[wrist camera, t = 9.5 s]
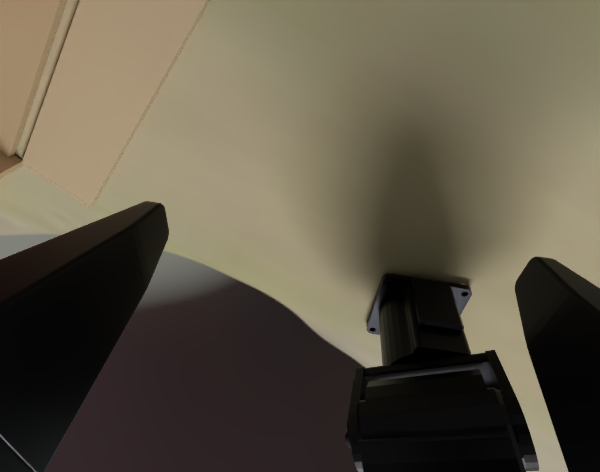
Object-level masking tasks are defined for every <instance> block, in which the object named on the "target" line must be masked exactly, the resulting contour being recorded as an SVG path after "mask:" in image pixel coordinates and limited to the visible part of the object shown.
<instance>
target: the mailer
mask: <svg viewBox="0 0 600 472" xmlns="http://www.w3.org/2000/svg"><path fill="white" fill-rule="evenodd" d="M66 1H67V0H0V178H2V177H4V176H5V175H7V174H9V173H11V172H13V171H14V170H16V169H18V168H20V167H21V166H22V164H23V165H24V166H26V167H27V168H29V169H31V170H32V171H34V172H35V173H37V174H38V175H40V176H41V177H43V178H45V179H46V180H48V181H49V182H51V183H52V184H54V185H55V186H57V187H59V188H60V189H62V190H63V191H65V192H66V193H68V194H69V195H71V196H73V197H74V198H76V199H77V200H79V201H80V202H82V203H83V204H85V205H86V206H88V207H90V208H91V207H92V206H93V205H94V203H95V201H96V199H97V198H98V196H99V194H100V192H101V190H102V189H103V187H104V185H105V183H106V182H107V180H108V178H109V176H110V175H111V173H112V171H113V169H114V168H115V166H116V164H117V162H118V160H119V159H120V157H121V155H122V153H123V152H124V150H125V148H126V146H127V145H128V143H129V141H130V139H131V138H132V136H133V134H134V132H135V130H136V129H137V127H138V125H139V123H140V122H141V120H142V118H143V116H144V115H145V113H146V111H147V109H148V108H149V106H150V104H151V102H152V100H153V99H154V97H155V95H156V93H157V92H158V90H159V88H160V86H161V85H162V83H163V81H164V79H165V78H166V76H167V74H168V72H169V71H170V69H171V67H172V65H173V63H174V62H175V60H176V58H177V56H178V55H179V53H180V51H181V49H182V48H183V46H184V44H185V42H186V41H187V39H188V37H189V35H190V33H191V32H192V30H193V28H194V26H195V25H196V23H197V21H198V19H199V18H200V16H201V14H202V12H203V11H204V9H205V7H206V5H207V3H208V2H209V0H80V1H79V4H78V7H77V10H76V13H75V15H74V18H73V21H72V24H71V26H70V29H69V32H68V35H67V38H66V40H65V43H64V46H63V49H62V52H61V54H60V57H59V60H58V63H57V66H56V68H55V71H54V74H53V77H52V80H51V82H50V85H49V88H48V91H47V94H46V96H45V99H44V102H43V105H42V107H41V110H40V113H39V116H38V119H37V121H36V124H35V127H34V130H33V133H32V135H31V138H30V141H29V144H28V147H27V149H26V152H25V155H24V158H23V160H21V159H20V158H18V157H17V156H15V152H16V149H17V146H18V143H19V140H20V137H21V134H22V131H23V128H24V125H25V122H26V119H27V116H28V113H29V110H30V108H31V105H32V102H33V99H34V96H35V93H36V90H37V87H38V84H39V81H40V78H41V75H42V72H43V69H44V66H45V63H46V60H47V57H48V54H49V51H50V48H51V45H52V42H53V39H54V36H55V33H56V30H57V27H58V24H59V21H60V18H61V15H62V12H63V9H64V7H65V4H66Z"/></svg>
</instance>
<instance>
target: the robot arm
mask: <svg viewBox="0 0 600 472" xmlns="http://www.w3.org/2000/svg"><path fill="white" fill-rule="evenodd" d="M168 235H169V229H168V223H167V217H166V212H165V207H164V206H163V205H162V204H161V203H156V202H149V201H145V202H143V203H140V204H138V205H135V206H133V207H130V208H128V209H125V210H123V211H120V212H118V213H115V214H113V215H110V216H108V217H105V218H103V219H100V220H98V221H95V222H93V223H90V224H88V225H85V226H83V227H80V228H78V229H75V230H73V231H70V232H68V233H65V234H63V235H60V236H58V237H55V238H53V239H50V240H48V241H46V242H43V243H41V244H38V245H36V246H33V247H31V248H28V249H26V250H23V251H21V252H18V253H16V254H13V255H11V256H8V257H6V258H3V259H1V260H0V472H44V471H45V469H46V467H47V465H48V464H49V462H50V460H51V458H52V457H53V455H54V453H55V451H56V450H57V448H58V446H59V444H60V442H61V441H62V439H63V437H64V435H65V434H66V432H67V430H68V428H69V426H70V425H71V423H72V421H73V419H74V418H75V416H76V414H77V412H78V410H79V409H80V407H81V405H82V403H83V402H84V400H85V398H86V396H87V394H88V393H89V391H90V389H91V387H92V386H93V384H94V382H95V380H96V379H97V377H98V375H99V373H100V371H101V370H102V368H103V366H104V364H105V363H106V361H107V359H108V357H109V355H110V354H111V352H112V350H113V348H114V346H115V345H116V343H117V341H118V339H119V337H120V336H121V334H122V332H123V331H124V329H125V327H126V325H127V324H128V322H129V320H130V318H131V316H132V315H133V313H134V311H135V309H136V308H137V306H138V304H139V302H140V300H141V299H142V297H143V295H144V293H145V291H146V289H147V287H148V285H149V283H150V280H151V278H152V275H153V273H154V271H155V269H156V266H157V264H158V261H159V259H160V256H161V254H162V252H163V249H164V247H165V244H166V242H167V240H168ZM387 280H391V281H387ZM462 292H464V293H462ZM515 293H516V298H517V302H518V307H519V312H520V317H521V321H522V326H523V331H524V336H525V340H526V344H527V348H528V351H529V354H530V358H531V361H532V364H533V367H534V370H535V373H536V376H537V379H538V382H539V384H540V387H541V390H542V393H543V396H544V399H545V402H546V405H547V408H548V411H549V414H550V417H551V420H552V423H553V426H554V429H555V432H556V435H557V438H558V441H559V444H560V447H561V450H562V453H563V456H564V459H565V462H566V465H567V468H568V471H569V472H600V288H598V287H597V286H595V285H594V284H592V283H590V282H589V281H587V280H586V279H584V278H583V277H581V276H580V275H578V274H576V273H575V272H573V271H572V270H570V269H569V268H567V267H566V266H564V265H562V264H561V263H559V262H558V261H556V260H554V259H551V258H544V257H534V258H532V259H531V260H530V261H529V262H528V264H527V265H526V267H525V268H524V270H523V271H522V273H521V275H520V276H519V278H518V279H517V281H516V284H515ZM471 295H472V292H471V289H470V287H469V286H466V285H460V284H453V283H447V282H441V281H434V280H428V279H421V278H415V277H409V276H402V275H396V274H386V275H384V276H383V278H382V281H381V284H380V287H379V290H378V293H377V296H376V299H375V301H374V304H373V307H372V310H371V313H370V316H369V319H368V322H367V331H368V332H369V333H372V334H378V335H380V338H381V351H382V364H383V366H378V367H370V368H365V367H360V368H356V374H355V378H354V380H353V387H352V394H351V401H350V408H349V414H348V420H347V431H346V434H345V440H346V444H347V445H348V446H349V447H350V448H351V449H352V454H353V458H354V462H355V465H356V468H357V470H358V472H526V471H539V465H538V460H537V456H536V452H535V448H534V445H533V441H532V438H531V435H530V432H529V429H528V426H527V423H526V420H525V417H524V415H523V412H522V409H521V407H520V404H519V402H518V400H517V397H516V395H515V393H514V391H513V389H512V387H511V384H510V382H509V380H508V378H507V376H506V374H505V371H504V369H503V367H502V365H501V363H500V361H499V358H498V356H497V354H496V352H495V350H491V351H485V353H479V354H471V352H470V349H469V346H468V342H467V339H466V336H465V333H464V330H463V329H464V326H463V323H462V320H461V317H460V315H461V313H462V311H463V309H464V308H465V306H466V304H467V302H468V301H469V299H470V297H471Z"/></svg>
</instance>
